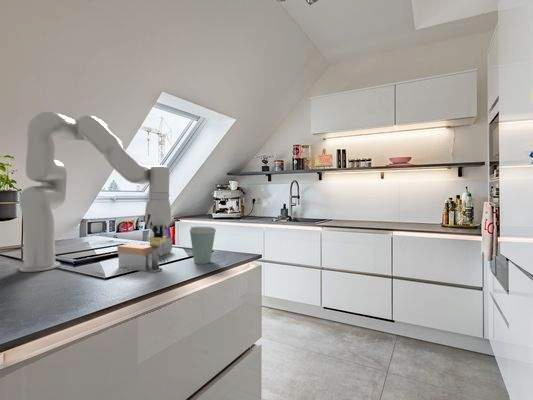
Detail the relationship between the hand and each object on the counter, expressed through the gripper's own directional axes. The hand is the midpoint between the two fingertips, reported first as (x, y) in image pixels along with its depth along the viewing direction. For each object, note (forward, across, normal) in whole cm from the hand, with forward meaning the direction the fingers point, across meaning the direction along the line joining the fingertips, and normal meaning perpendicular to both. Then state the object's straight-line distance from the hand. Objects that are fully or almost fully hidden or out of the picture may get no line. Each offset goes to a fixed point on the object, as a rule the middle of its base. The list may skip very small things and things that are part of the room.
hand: (158, 242), depth 122 cm
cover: (+3, +7, -4) cm, 9 cm away
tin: (+9, -15, -11) cm, 20 cm away
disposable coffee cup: (+9, -11, +14) cm, 20 cm away
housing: (+9, +7, -1) cm, 12 cm away
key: (-1, +4, +4) cm, 6 cm away
